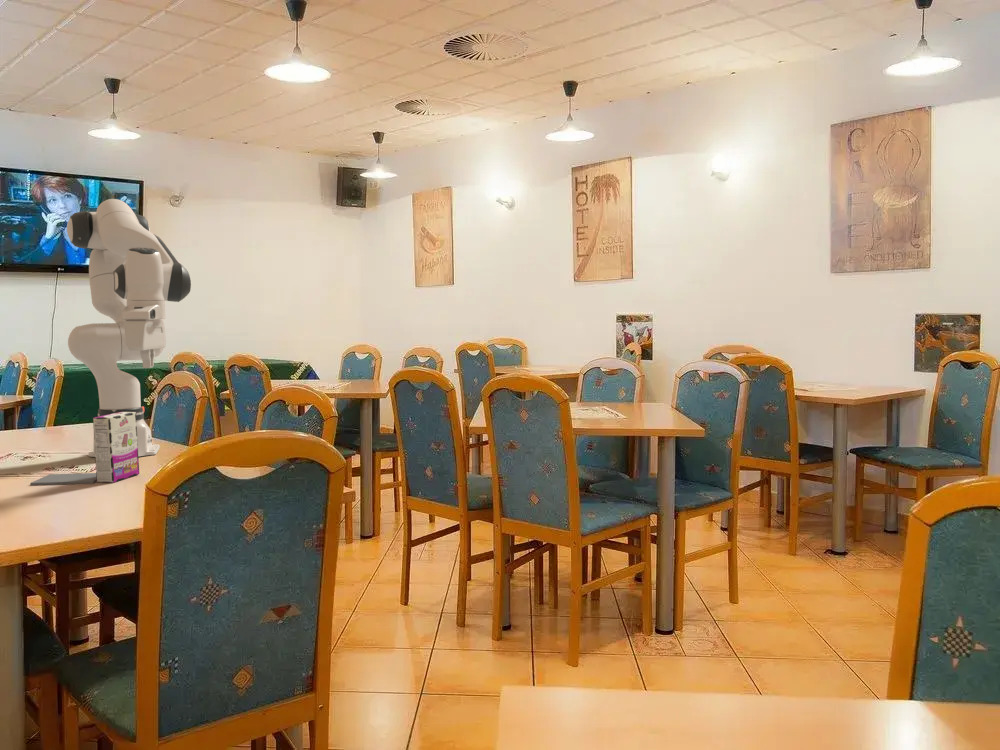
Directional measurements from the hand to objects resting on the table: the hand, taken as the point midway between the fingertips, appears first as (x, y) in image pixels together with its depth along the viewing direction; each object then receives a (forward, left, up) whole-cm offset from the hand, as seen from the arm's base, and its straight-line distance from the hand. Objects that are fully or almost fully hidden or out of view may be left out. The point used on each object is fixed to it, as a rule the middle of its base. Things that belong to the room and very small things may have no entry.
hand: (148, 367), depth 207 cm
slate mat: (0, -20, -28) cm, 34 cm away
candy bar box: (0, -9, -28) cm, 29 cm away
